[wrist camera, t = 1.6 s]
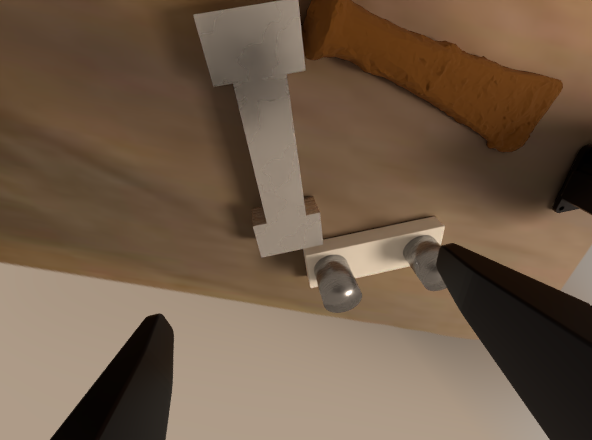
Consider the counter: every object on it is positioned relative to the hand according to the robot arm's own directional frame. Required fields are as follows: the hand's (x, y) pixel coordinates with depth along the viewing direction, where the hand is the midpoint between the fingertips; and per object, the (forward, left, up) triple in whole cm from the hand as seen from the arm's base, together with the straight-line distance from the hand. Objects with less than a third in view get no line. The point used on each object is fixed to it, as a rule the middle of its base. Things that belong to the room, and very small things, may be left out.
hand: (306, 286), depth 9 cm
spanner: (0, 0, -13) cm, 13 cm away
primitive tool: (-12, -3, -13) cm, 18 cm away
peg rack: (-7, +11, -12) cm, 18 cm away
